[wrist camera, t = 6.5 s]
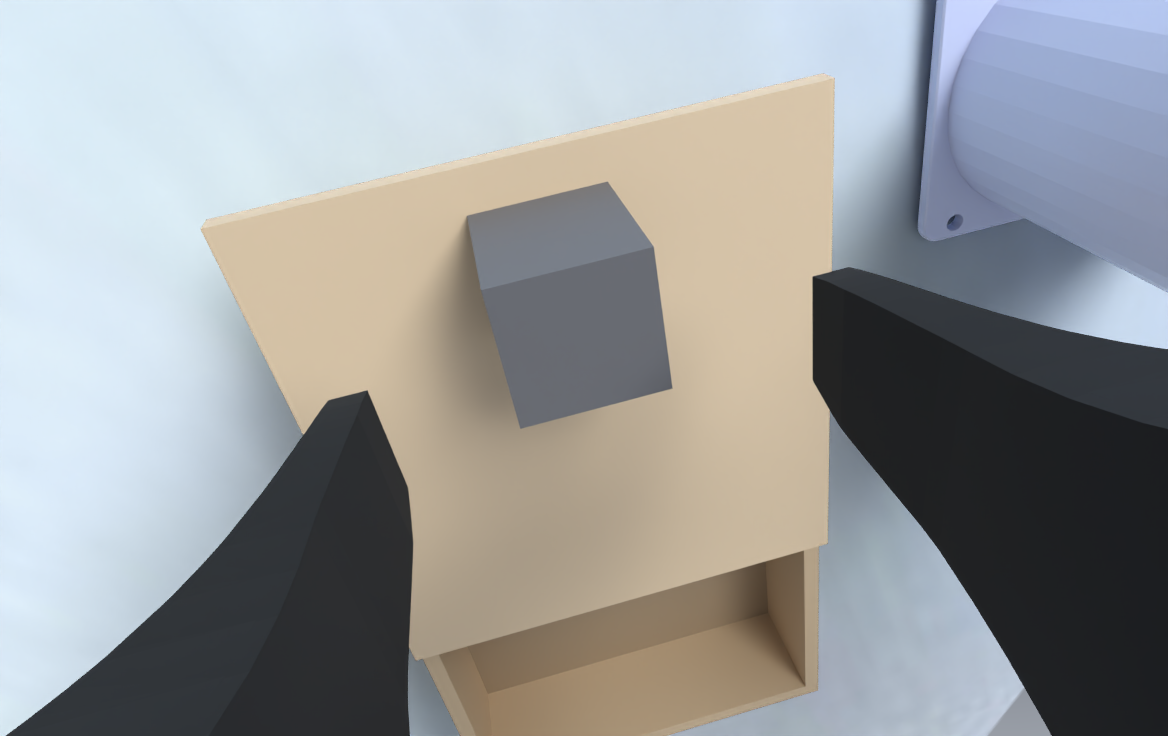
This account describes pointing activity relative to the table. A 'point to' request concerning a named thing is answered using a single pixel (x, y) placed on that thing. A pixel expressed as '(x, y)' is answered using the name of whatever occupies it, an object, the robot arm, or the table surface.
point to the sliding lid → (571, 351)
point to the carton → (646, 659)
